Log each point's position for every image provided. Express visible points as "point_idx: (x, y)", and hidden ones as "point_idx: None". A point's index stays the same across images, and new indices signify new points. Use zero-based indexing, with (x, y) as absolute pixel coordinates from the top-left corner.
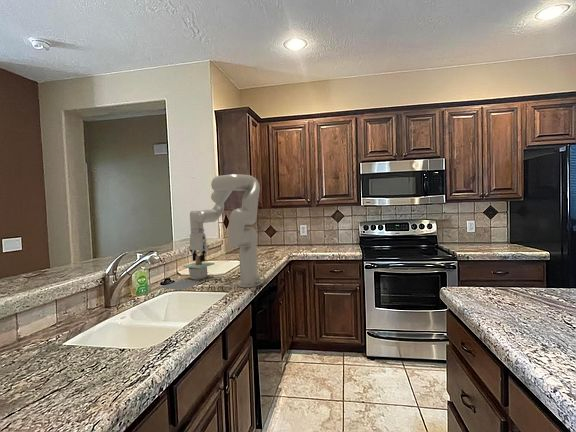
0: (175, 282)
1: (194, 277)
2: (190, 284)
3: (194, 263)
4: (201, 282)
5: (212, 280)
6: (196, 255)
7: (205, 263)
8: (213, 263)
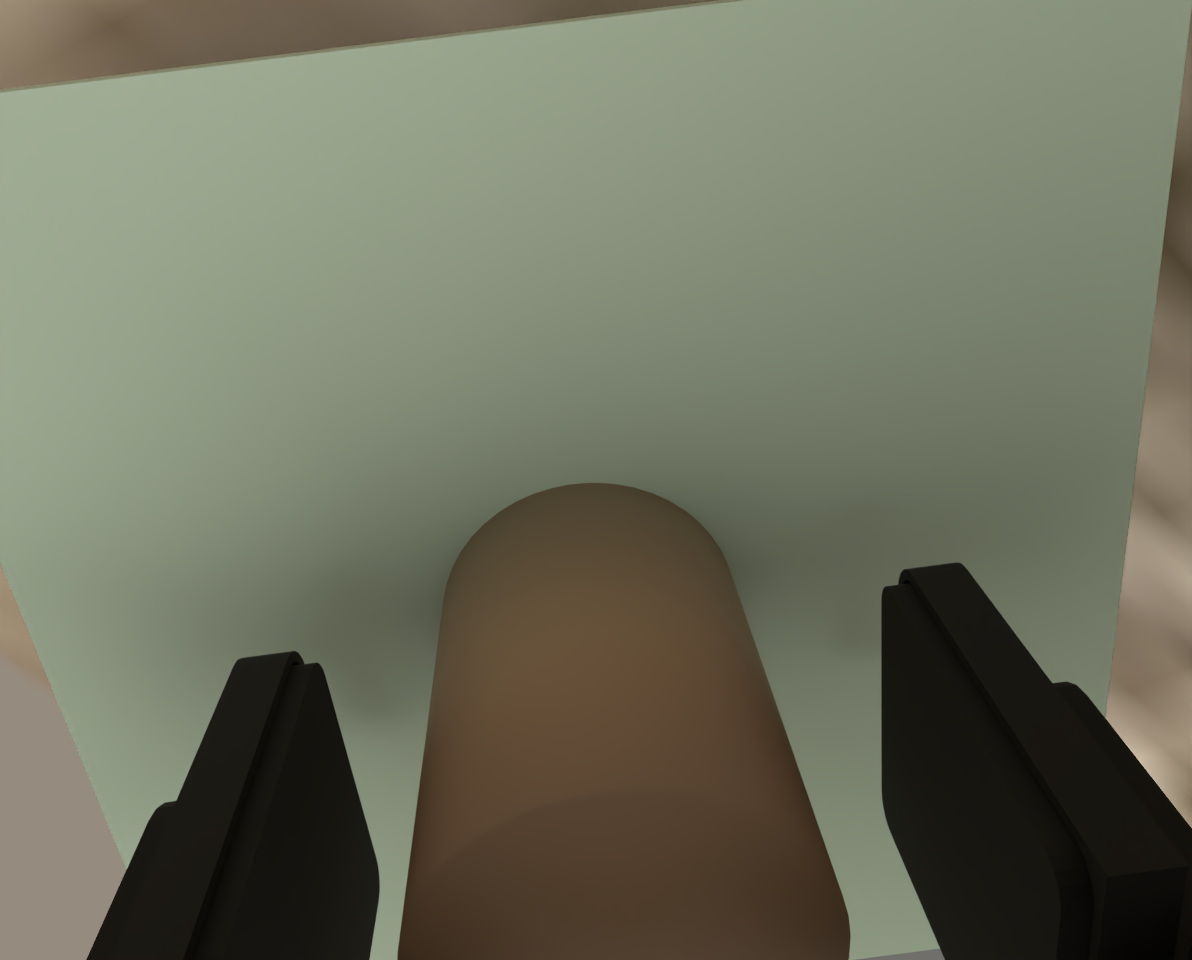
0: None
1: None
2: None
3: (129, 559)
4: None
5: None
6: (257, 932)
7: (739, 304)
8: (1179, 33)
